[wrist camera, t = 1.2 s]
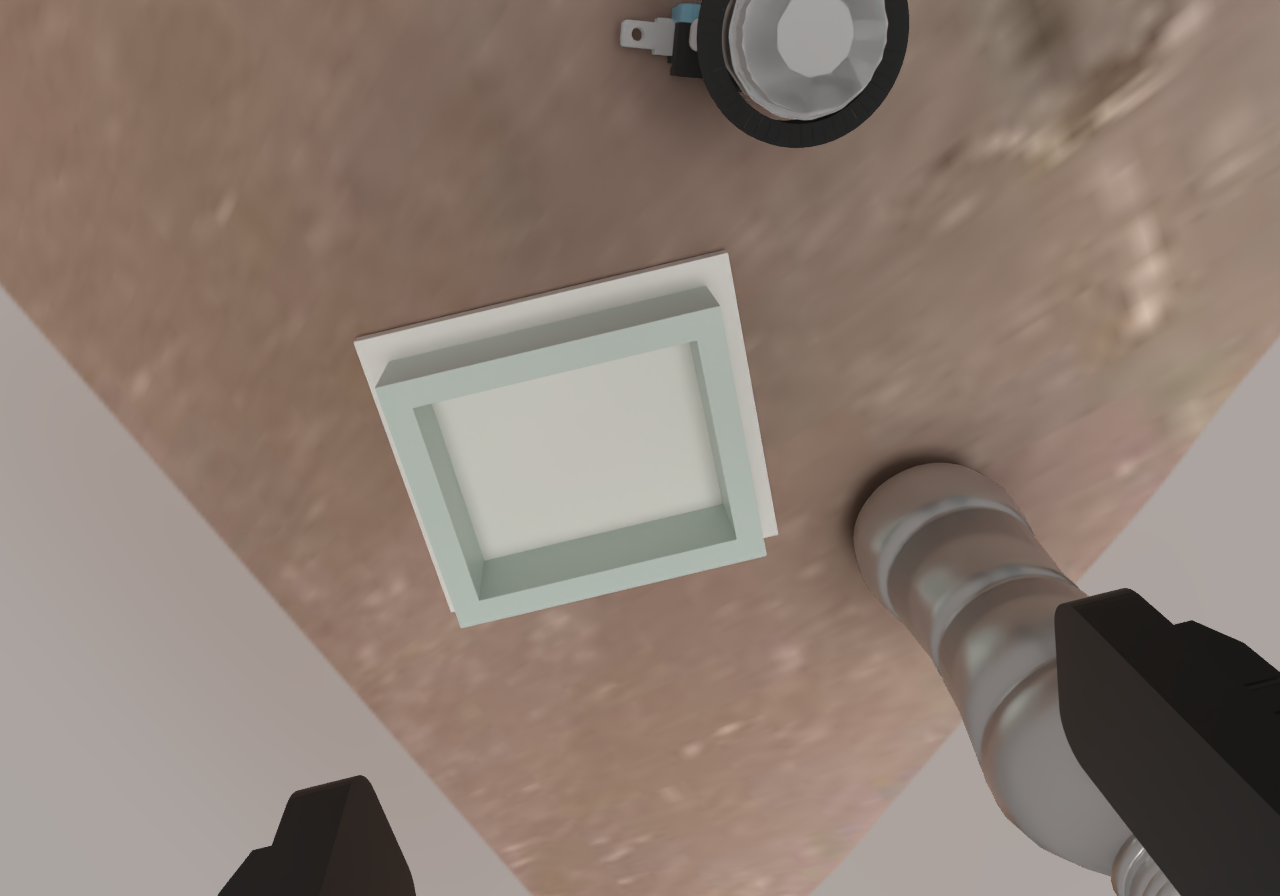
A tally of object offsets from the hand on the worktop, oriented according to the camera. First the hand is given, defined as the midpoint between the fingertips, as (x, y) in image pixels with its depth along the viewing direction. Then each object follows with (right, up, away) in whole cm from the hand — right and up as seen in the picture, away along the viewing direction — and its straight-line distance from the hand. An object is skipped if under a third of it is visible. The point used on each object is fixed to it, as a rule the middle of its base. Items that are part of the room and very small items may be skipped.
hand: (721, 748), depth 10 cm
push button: (+2, +17, +21) cm, 27 cm away
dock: (-3, +4, +26) cm, 26 cm away
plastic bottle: (+11, +1, +29) cm, 31 cm away
